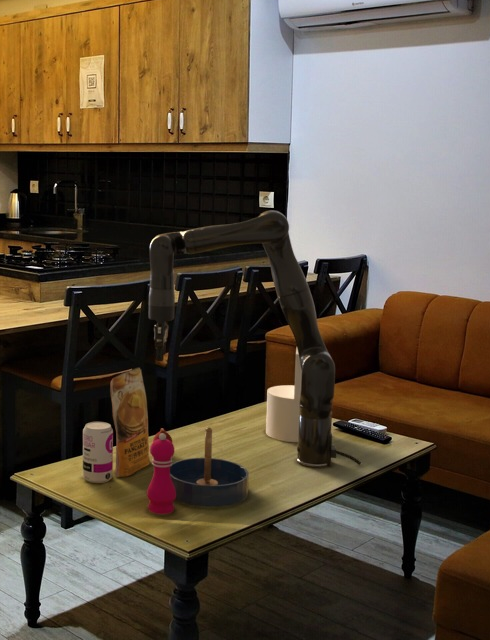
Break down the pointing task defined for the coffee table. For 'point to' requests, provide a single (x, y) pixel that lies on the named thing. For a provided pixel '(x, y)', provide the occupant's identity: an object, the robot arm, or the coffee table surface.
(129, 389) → the pancake mix bag
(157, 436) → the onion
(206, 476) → the wooden disc peg
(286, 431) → the cylinder
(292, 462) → the coffee table surface
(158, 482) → the pepper mill
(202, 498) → the bowl
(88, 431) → the supplement can
